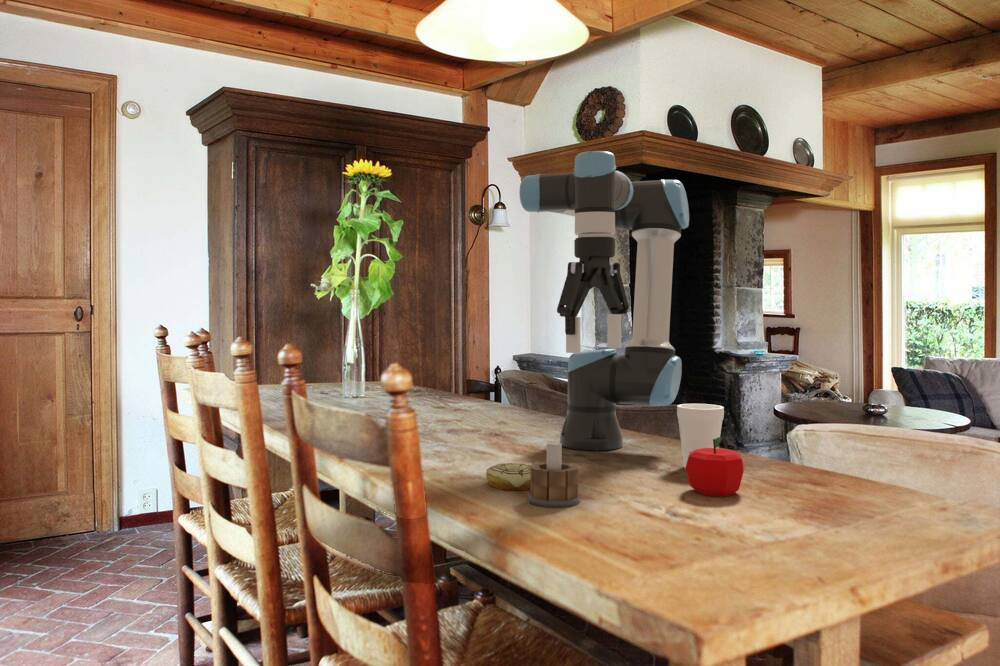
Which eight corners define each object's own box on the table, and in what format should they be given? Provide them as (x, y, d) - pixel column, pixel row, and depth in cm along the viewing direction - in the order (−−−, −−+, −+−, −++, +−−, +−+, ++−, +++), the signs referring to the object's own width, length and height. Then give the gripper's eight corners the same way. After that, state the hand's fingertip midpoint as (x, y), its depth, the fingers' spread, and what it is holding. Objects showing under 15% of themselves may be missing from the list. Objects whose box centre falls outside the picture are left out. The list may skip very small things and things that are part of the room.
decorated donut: (522, 495, 144) (523, 474, 144) (475, 487, 150) (475, 467, 150) (552, 484, 153) (553, 465, 152) (506, 477, 159) (506, 458, 158)
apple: (731, 502, 139) (732, 445, 139) (675, 493, 145) (675, 438, 145) (753, 491, 147) (754, 437, 147) (699, 483, 154) (699, 431, 153)
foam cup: (702, 474, 161) (703, 410, 161) (667, 467, 169) (668, 405, 168) (731, 469, 167) (733, 407, 166) (697, 461, 174) (697, 402, 174)
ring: (586, 494, 139) (586, 466, 139) (558, 503, 133) (558, 473, 133) (549, 487, 145) (549, 460, 144) (521, 495, 139) (521, 467, 138)
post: (548, 492, 145) (549, 437, 145) (589, 500, 140) (590, 443, 139) (517, 501, 139) (517, 444, 138) (559, 510, 133) (559, 450, 132)
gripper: (614, 239, 161) (614, 344, 162) (537, 234, 142) (537, 353, 143) (647, 238, 156) (646, 346, 157) (571, 233, 137) (571, 356, 138)
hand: (594, 350), depth 150 cm, fingers open, 13 cm apart
